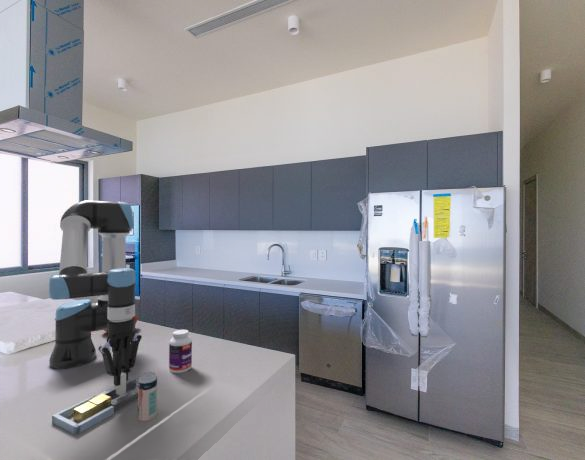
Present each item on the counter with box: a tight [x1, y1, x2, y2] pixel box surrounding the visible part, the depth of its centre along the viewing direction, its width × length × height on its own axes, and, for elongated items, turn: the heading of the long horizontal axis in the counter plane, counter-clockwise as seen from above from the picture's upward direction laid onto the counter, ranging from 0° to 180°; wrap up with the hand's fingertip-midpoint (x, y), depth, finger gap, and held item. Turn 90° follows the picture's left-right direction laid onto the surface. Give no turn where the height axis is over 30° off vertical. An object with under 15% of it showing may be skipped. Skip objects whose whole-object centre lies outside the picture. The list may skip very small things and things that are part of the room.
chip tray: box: [51, 396, 115, 436], centre depth 83 cm, size 11×10×2 cm
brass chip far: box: [89, 394, 111, 413], centre depth 87 cm, size 4×4×3 cm
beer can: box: [137, 371, 158, 422], centre depth 85 cm, size 5×5×12 cm
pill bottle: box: [168, 329, 193, 374], centre depth 113 cm, size 8×8×14 cm
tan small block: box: [72, 402, 97, 423], centre depth 84 cm, size 4×4×3 cm
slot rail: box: [92, 377, 138, 413], centre depth 94 cm, size 10×13×2 cm
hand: (120, 393), depth 93 cm, fingers closed
